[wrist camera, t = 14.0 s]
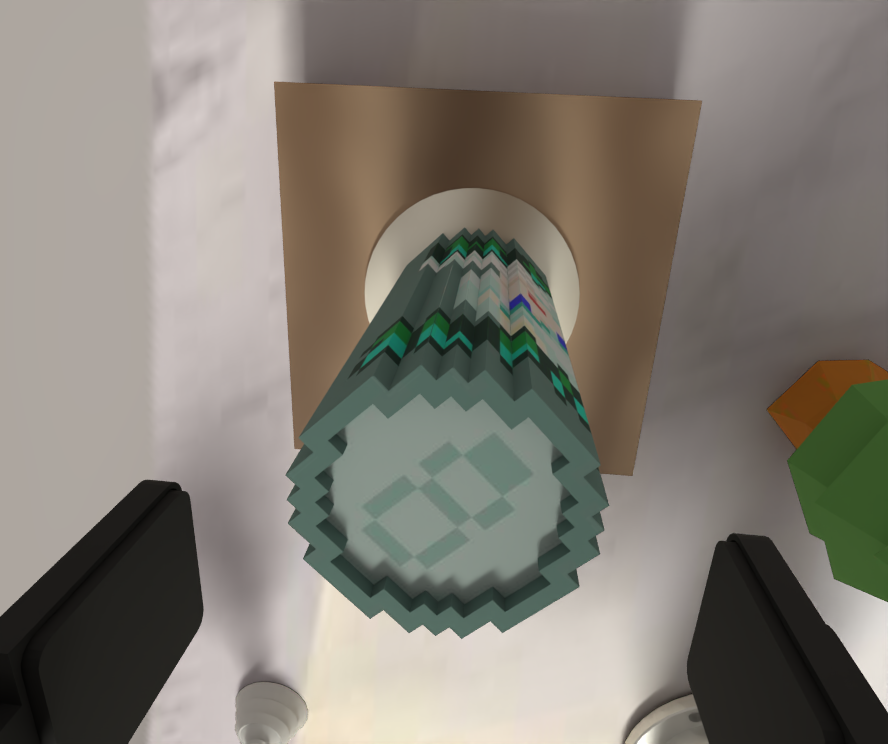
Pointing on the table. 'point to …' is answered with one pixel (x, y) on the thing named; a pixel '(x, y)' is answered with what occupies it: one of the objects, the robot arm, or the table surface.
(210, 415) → the table surface
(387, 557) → the can
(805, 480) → the decorative tree
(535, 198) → the walnut base
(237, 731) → the chalice
